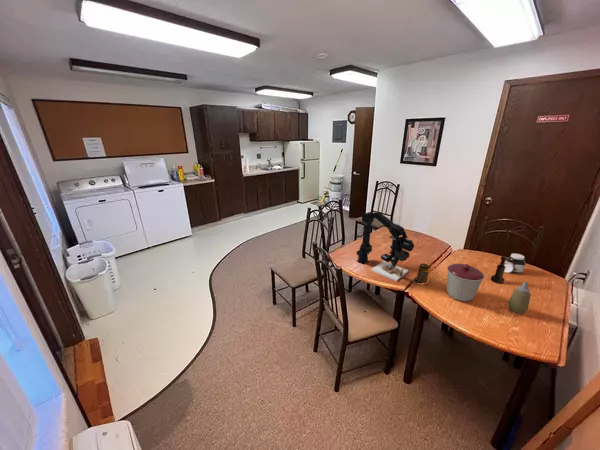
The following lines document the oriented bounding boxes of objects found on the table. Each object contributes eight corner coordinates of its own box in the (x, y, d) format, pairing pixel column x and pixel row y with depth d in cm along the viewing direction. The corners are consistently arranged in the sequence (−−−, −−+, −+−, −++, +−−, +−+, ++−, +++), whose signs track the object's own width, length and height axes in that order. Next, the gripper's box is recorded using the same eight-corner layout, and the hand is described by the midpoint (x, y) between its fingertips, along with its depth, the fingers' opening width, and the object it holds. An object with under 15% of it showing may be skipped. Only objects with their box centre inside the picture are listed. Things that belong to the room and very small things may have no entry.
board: (371, 270, 172) (371, 264, 170) (383, 262, 182) (384, 256, 181) (396, 281, 158) (397, 274, 157) (408, 271, 169) (409, 265, 167)
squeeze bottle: (502, 306, 133) (511, 278, 127) (516, 305, 134) (525, 277, 128) (515, 316, 126) (526, 287, 120) (530, 315, 126) (541, 286, 120)
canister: (436, 286, 152) (442, 257, 144) (465, 286, 151) (473, 256, 144) (452, 305, 135) (459, 273, 128) (485, 305, 134) (495, 273, 127)
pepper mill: (501, 279, 158) (508, 254, 151) (505, 284, 152) (513, 259, 146) (489, 277, 160) (496, 253, 154) (492, 282, 154) (500, 258, 148)
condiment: (429, 281, 157) (432, 265, 153) (422, 286, 153) (425, 270, 149) (419, 277, 163) (421, 261, 159) (411, 281, 158) (414, 265, 154)
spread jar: (523, 270, 166) (528, 255, 162) (522, 277, 159) (527, 262, 154) (500, 265, 174) (505, 250, 170) (499, 271, 166) (503, 256, 162)
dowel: (400, 273, 166) (401, 268, 164) (401, 272, 166) (402, 267, 165) (402, 273, 165) (403, 268, 163) (403, 273, 166) (403, 268, 164)
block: (381, 268, 172) (381, 264, 171) (389, 265, 175) (390, 261, 174) (396, 277, 160) (397, 273, 159) (405, 274, 163) (405, 270, 162)
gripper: (394, 253, 144) (391, 276, 150) (417, 247, 151) (413, 269, 156) (381, 246, 154) (379, 267, 160) (403, 241, 161) (401, 261, 166)
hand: (393, 266), depth 160 cm, fingers closed
